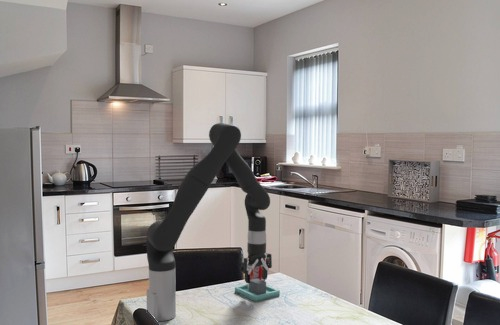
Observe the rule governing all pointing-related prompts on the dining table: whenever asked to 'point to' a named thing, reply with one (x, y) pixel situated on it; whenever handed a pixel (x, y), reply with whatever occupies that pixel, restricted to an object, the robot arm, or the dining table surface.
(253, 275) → the soda can
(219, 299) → the dining table surface
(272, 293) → the tray
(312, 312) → the dining table surface
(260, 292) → the plug
